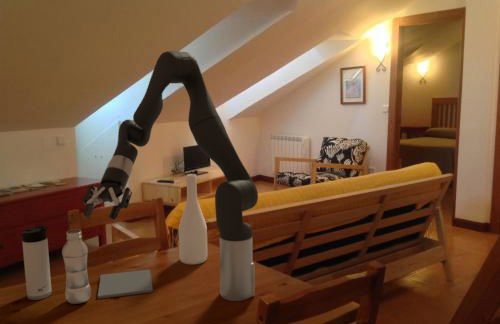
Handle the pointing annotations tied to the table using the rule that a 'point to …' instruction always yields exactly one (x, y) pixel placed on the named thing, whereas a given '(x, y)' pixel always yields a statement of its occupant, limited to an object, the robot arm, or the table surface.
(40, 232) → the travel mug
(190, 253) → the wine bottle
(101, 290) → the slate mat
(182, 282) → the table surface
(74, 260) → the plastic bottle
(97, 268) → the table surface
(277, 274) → the table surface
